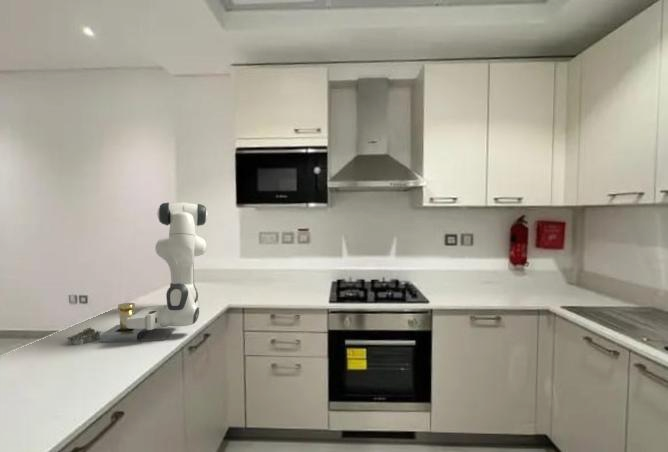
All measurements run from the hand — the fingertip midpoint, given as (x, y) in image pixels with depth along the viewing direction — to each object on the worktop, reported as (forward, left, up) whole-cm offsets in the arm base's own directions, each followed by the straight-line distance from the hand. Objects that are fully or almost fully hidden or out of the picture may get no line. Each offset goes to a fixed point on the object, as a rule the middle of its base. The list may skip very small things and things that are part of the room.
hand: (124, 317), depth 155 cm
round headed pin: (0, +1, -8) cm, 8 cm away
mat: (0, +14, -8) cm, 16 cm away
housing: (0, +1, -8) cm, 8 cm away
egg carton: (+4, -14, -9) cm, 17 cm away
